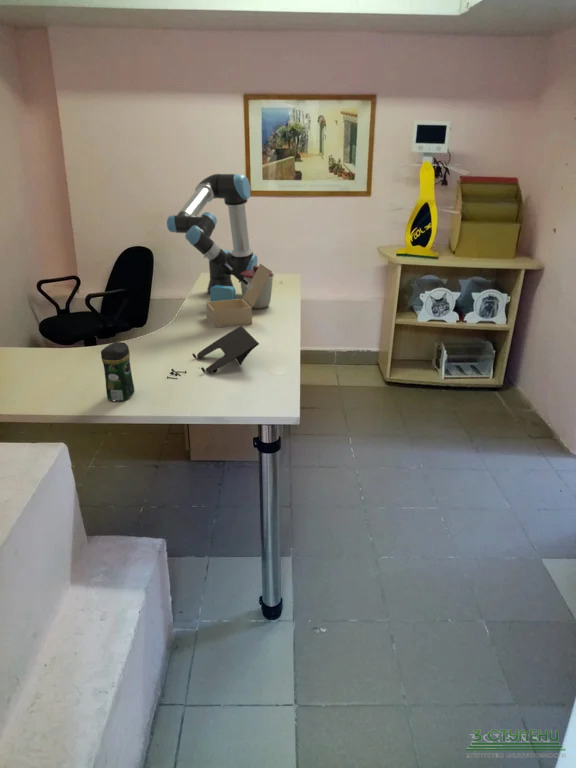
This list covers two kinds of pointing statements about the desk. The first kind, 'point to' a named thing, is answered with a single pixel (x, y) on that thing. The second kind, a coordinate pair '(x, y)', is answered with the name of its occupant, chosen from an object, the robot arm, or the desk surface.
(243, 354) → the portable electronic device stand
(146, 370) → the desk surface
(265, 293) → the canister
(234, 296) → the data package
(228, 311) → the box
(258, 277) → the mailer lid
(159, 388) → the desk surface
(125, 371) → the coffee jar
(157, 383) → the desk surface
